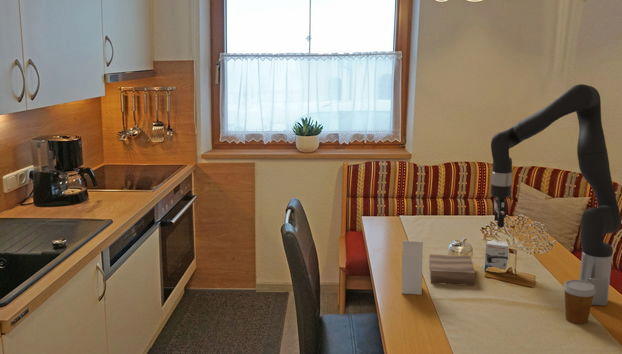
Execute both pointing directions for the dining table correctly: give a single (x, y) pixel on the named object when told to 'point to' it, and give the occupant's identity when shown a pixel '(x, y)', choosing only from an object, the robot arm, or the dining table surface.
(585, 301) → the disposable coffee cup
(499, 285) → the dining table surface
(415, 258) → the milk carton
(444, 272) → the walnut block
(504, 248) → the ink box
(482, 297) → the dining table surface
